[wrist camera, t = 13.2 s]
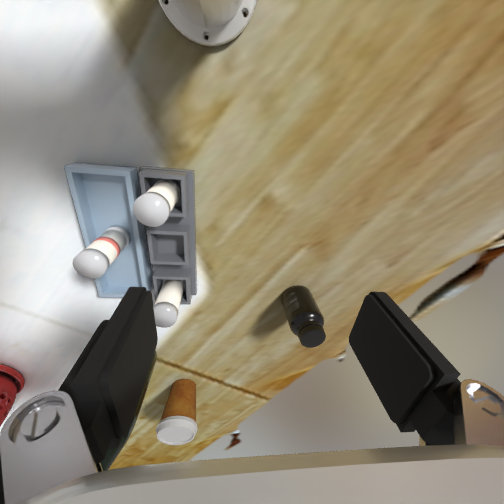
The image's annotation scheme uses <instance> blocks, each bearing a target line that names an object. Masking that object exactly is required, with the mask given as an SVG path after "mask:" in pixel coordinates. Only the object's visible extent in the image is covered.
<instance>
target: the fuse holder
mask: <svg viewBox="0 0 504 504" xmlns="http://www.w3.org/2000/svg"><path fill="white" fill-rule="evenodd" d="M139 177H140V185H141V192H142V194H144V193H146V192H147V191H148V190H149V189H150V188H151V187H153V186H154V184H155V183H156V182H157V181H159V180H160V179H173V180H175V181H176V182H177V183H178V184H179V185H180V187H181V197H180V199H179V201H178V202H177V203H176V204H175V206H174V207H173V209H172V211H171V212H170V215H169V217H168V218H167V220H166V221H165V223H163V224H162V225H160V226H157V227H149V226H147V228H148V229H147V230H146V231H147V239H148V246H149V254H150V262H151V264H152V268H153V276H152V277H153V285H154V292H155V300H157V297H158V295H159V292H160V290H161V287H162V284H163V281H164V279H168V280H186V285H185V289H184V291H183V294H182V298H181V302H180V304H190V302H191V298H192V295H196V293H197V271H196V228H195V184H194V170H185V169H172V168H160V167H147V166H142V167H140V172H139Z"/></svg>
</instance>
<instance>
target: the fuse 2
mask: <svg viewBox="0 0 504 504" xmlns="http://www.w3.org/2000/svg"><path fill="white" fill-rule="evenodd" d="M185 285H186V280H168V279H164V281H163V284H162V287H161V290H160V292H159V295H158V297H157V300H156V302H155V305H154V306H153V309H154V316H155V323H156V326H158V327H170V326H172V325H173V324H174V323H175V322H176V319H177V316H178V309H179V306H180V302H181V298H182V294H183V291H184V289H185Z"/></svg>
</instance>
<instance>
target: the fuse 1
mask: <svg viewBox="0 0 504 504" xmlns="http://www.w3.org/2000/svg"><path fill="white" fill-rule="evenodd" d="M180 197H181V187H180V185H179V184H178V183H177V182H176V181H175V180H173V179H160V180H159V181H157V182H156V183H155V184H154V186H153V187H151V188H150V189H149V190H148V191H147V192H146V193H144V194H142V195H141V196H140V197H138V198H137V199H136V200H135V202H134V204H133V212H134V215H135V217H136V218H137V220H138V221H139V222H141V223H142V224H144V225H146V226H149V227H157V226H160V225H162V224H163V223H165V221H166V220H167V218H168V217H169V215H170V212H171V211H172V209H173V207H174V206H175V204H176V203H177V202H178V201H179V199H180Z"/></svg>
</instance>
